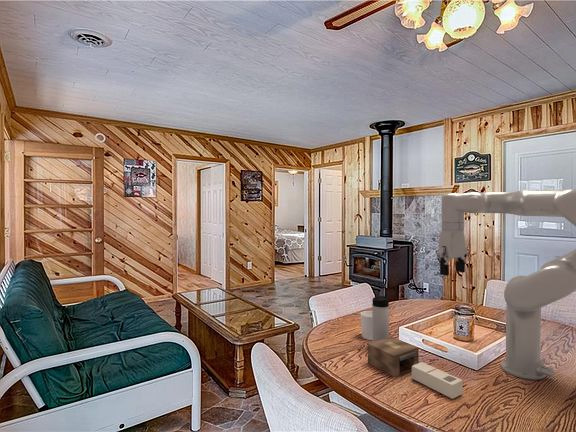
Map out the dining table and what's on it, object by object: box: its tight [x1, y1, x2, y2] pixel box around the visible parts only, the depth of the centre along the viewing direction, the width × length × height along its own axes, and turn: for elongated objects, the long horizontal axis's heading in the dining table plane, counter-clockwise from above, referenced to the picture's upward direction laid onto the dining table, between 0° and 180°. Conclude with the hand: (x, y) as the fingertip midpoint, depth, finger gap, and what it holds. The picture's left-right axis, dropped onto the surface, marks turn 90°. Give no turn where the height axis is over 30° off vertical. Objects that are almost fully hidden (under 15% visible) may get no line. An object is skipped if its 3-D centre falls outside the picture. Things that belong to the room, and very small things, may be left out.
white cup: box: [360, 310, 372, 341], centre depth 146 cm, size 8×8×10 cm
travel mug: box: [371, 295, 391, 342], centre depth 135 cm, size 6×7×20 cm
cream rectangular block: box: [411, 362, 464, 399], centre depth 106 cm, size 14×5×4 cm, turn 31°
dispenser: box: [367, 335, 420, 378], centre depth 120 cm, size 13×12×7 cm
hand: (452, 273), depth 127 cm, fingers open, 9 cm apart
